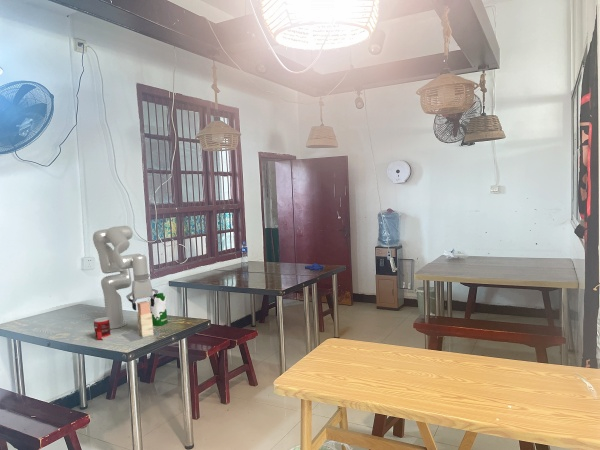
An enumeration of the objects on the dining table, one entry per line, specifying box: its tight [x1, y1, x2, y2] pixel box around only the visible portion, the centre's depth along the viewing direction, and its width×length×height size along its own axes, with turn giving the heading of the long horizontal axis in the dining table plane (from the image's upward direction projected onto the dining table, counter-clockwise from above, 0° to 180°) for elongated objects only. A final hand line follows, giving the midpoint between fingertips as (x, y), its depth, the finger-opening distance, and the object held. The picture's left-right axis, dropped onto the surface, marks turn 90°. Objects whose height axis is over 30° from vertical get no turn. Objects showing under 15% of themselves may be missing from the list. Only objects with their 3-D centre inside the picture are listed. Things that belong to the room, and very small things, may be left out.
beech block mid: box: [136, 313, 153, 326], centre depth 240 cm, size 6×6×6 cm
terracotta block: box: [136, 300, 150, 315], centre depth 240 cm, size 5×5×6 cm
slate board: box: [121, 329, 161, 343], centre depth 242 cm, size 18×16×2 cm
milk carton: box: [147, 292, 169, 327], centre depth 260 cm, size 9×9×20 cm
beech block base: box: [137, 324, 154, 337], centre depth 241 cm, size 6×6×6 cm
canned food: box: [93, 316, 111, 341], centre depth 245 cm, size 8×8×11 cm
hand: (143, 308), depth 240 cm, fingers open, 9 cm apart
